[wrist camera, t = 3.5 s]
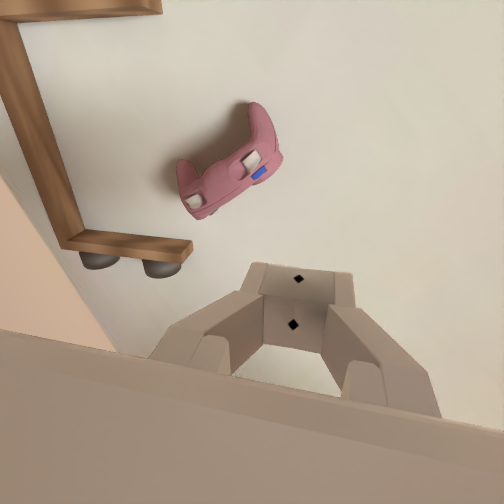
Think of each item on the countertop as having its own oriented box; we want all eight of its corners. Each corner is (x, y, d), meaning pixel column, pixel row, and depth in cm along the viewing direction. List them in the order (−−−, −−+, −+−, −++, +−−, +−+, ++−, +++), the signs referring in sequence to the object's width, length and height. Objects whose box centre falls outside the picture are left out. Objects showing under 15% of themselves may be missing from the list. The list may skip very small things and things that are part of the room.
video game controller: (208, 194, 30) (195, 238, 25) (175, 160, 28) (153, 202, 23) (290, 138, 26) (293, 179, 21) (259, 92, 23) (254, 126, 18)
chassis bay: (156, -36, 21) (123, -57, 18) (194, 261, 34) (180, 281, 31) (-10, -19, 24) (-64, -35, 21) (83, 248, 37) (59, 265, 34)
